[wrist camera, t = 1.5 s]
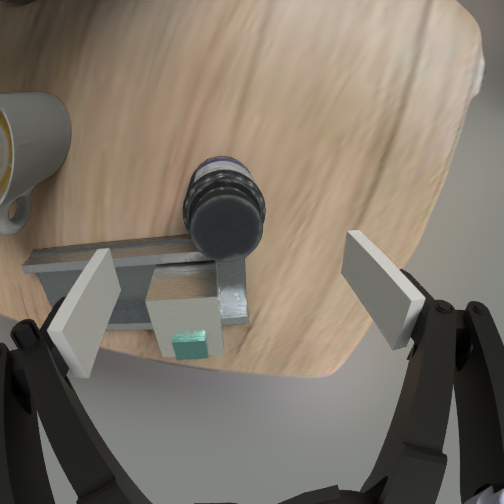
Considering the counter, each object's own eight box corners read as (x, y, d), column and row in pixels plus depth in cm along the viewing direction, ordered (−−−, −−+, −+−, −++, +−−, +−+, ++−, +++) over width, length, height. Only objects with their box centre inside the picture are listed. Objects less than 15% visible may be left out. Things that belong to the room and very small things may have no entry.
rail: (33, 249, 28) (-6, 295, 19) (243, 230, 30) (255, 282, 22) (59, 313, 32) (34, 364, 24) (245, 305, 35) (256, 365, 27)
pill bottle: (233, 224, 30) (244, 285, 20) (179, 199, 28) (162, 251, 18) (263, 172, 28) (292, 211, 18) (208, 143, 26) (204, 166, 16)
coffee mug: (12, 91, 18) (-48, 97, 10) (80, 94, 21) (23, 95, 12) (1, 201, 24) (-49, 238, 15) (62, 217, 26) (16, 262, 18)
